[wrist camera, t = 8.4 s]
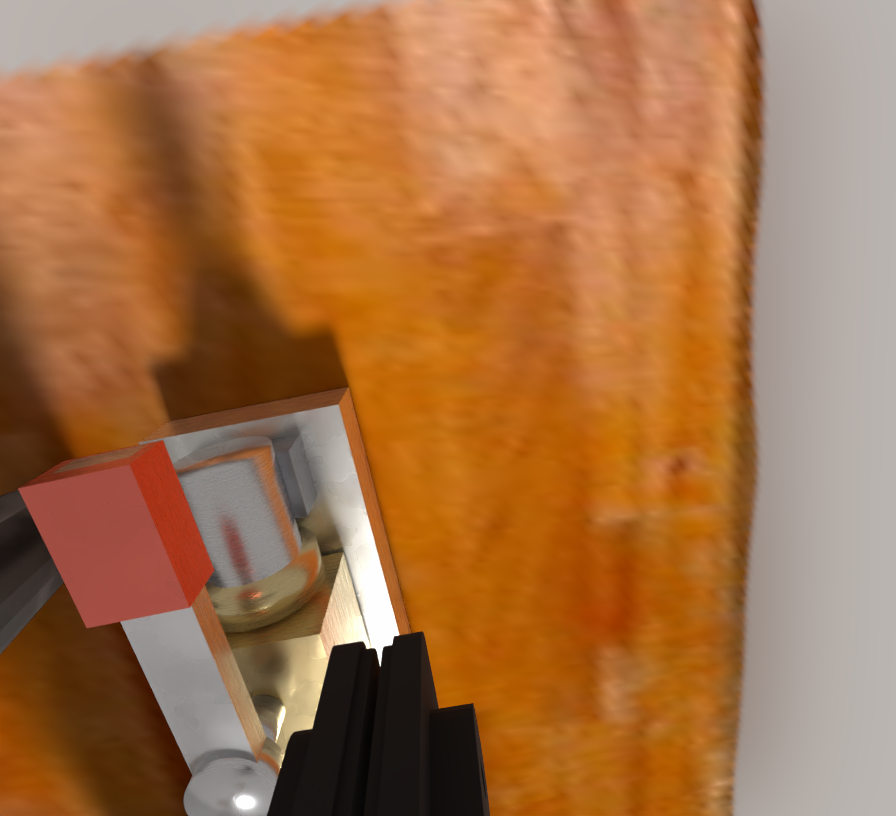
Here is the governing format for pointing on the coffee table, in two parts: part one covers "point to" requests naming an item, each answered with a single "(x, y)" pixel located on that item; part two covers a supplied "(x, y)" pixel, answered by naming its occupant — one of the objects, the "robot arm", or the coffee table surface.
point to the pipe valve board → (336, 488)
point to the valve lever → (159, 612)
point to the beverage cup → (22, 568)
